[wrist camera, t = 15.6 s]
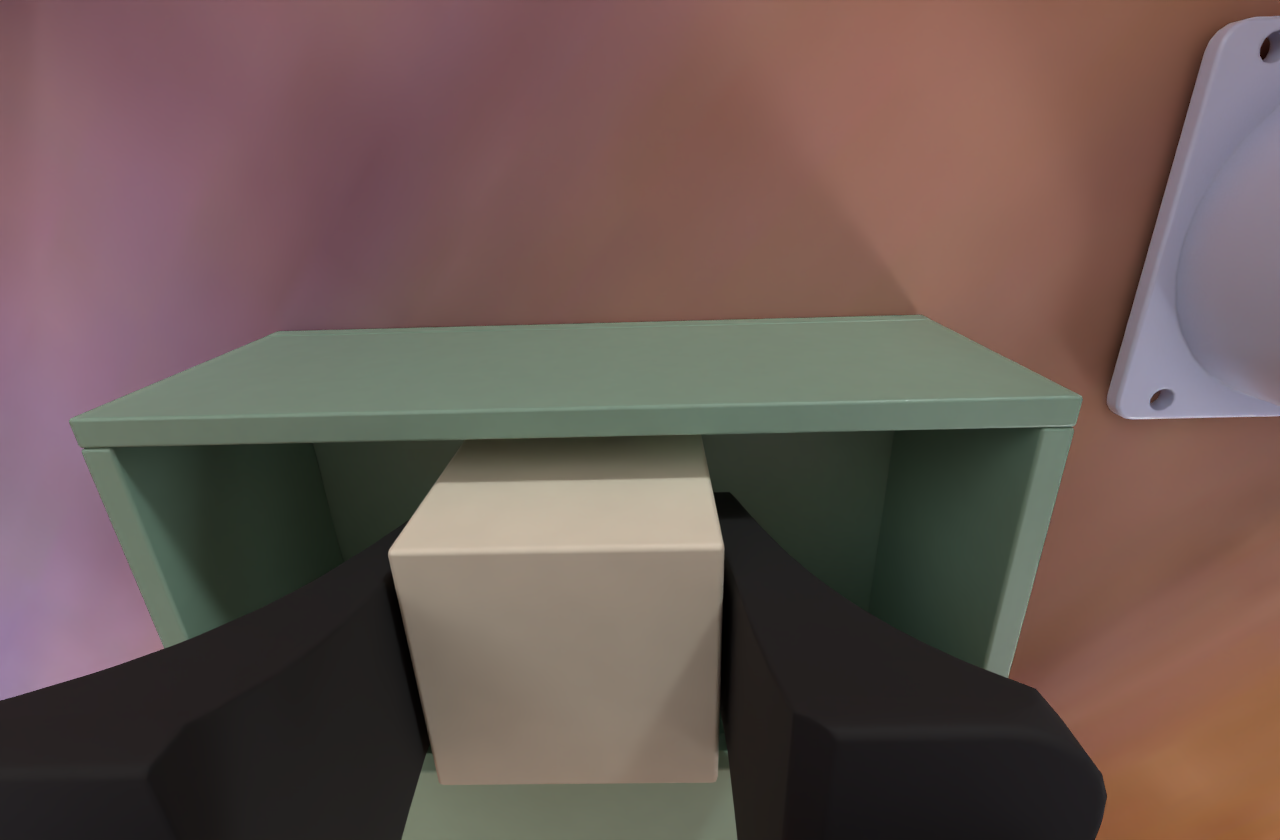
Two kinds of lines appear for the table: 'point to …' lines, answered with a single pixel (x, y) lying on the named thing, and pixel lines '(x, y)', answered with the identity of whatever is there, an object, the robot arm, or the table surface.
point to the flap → (572, 810)
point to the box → (601, 407)
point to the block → (567, 611)
